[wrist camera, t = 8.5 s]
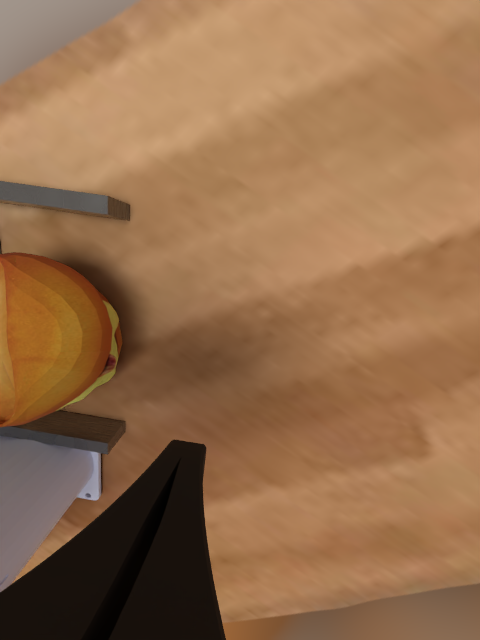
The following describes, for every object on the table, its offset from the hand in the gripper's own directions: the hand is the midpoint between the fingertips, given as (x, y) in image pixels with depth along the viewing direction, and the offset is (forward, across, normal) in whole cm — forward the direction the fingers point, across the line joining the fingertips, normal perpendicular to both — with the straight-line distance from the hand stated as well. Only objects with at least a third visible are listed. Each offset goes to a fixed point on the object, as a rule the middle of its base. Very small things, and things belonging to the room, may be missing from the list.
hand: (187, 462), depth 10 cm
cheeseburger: (+10, +12, -2) cm, 15 cm away
